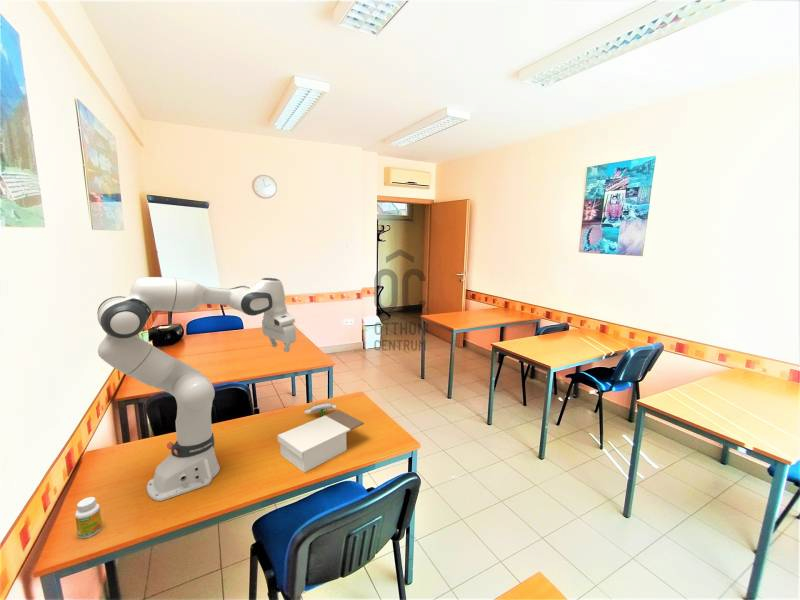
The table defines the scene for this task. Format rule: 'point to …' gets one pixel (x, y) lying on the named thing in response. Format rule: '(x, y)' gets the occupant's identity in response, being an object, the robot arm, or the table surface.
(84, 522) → the supplement bottle
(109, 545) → the table surface
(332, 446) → the box
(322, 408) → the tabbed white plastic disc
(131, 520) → the table surface
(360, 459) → the table surface
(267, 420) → the table surface
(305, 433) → the lid
